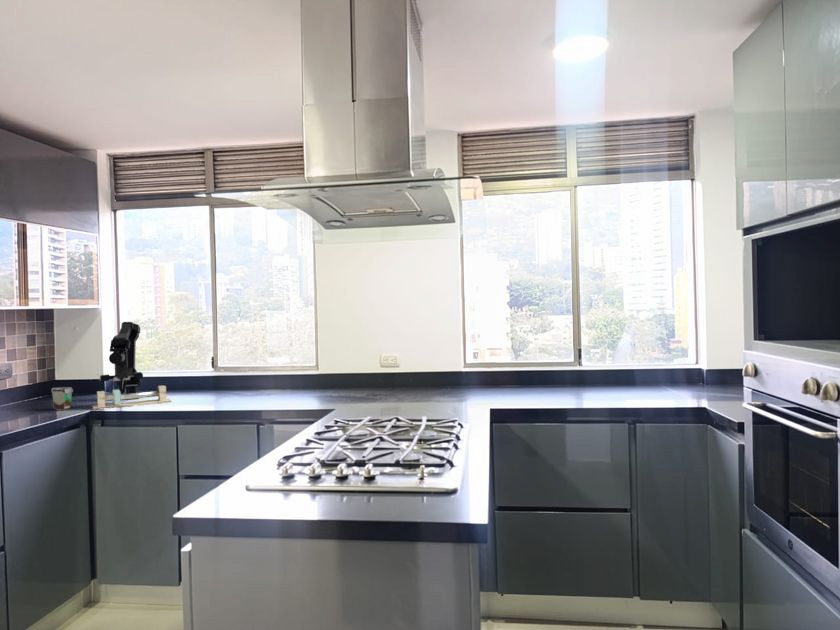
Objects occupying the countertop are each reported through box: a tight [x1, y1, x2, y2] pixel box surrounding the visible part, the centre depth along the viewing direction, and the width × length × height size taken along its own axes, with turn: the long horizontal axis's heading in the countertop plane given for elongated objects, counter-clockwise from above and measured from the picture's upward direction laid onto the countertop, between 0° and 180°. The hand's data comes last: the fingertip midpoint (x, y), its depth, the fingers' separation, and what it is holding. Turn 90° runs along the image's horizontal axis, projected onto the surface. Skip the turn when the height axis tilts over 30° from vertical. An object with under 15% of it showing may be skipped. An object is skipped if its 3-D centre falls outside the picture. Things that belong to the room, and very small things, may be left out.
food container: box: [51, 386, 74, 411], centre depth 280 cm, size 12×6×10 cm, turn 59°
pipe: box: [96, 390, 159, 403], centre depth 286 cm, size 3×30×3 cm, turn 122°
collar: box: [112, 388, 122, 405], centre depth 284 cm, size 11×2×6 cm, turn 32°
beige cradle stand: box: [91, 385, 172, 410], centre depth 286 cm, size 10×34×8 cm, turn 122°
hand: (122, 394), depth 289 cm, fingers closed
